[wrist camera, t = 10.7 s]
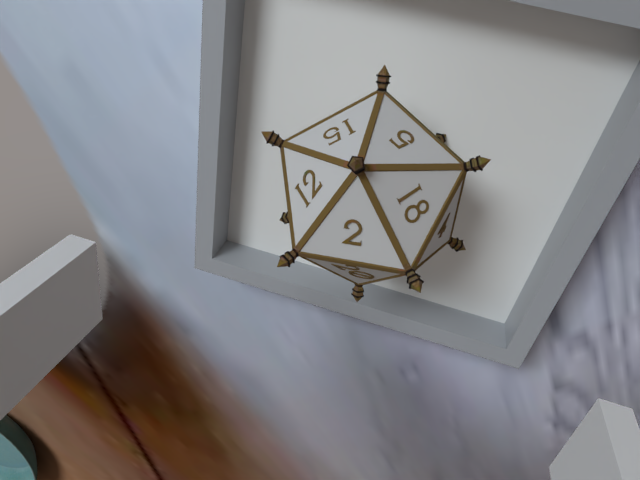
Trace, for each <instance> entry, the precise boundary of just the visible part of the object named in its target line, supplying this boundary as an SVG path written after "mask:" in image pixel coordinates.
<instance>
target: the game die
mask: <svg viewBox="0 0 640 480" xmlns="http://www.w3.org/2000/svg"><path fill="white" fill-rule="evenodd" d="M376 76H377V81H376V83H377V85H378V89H377V90H376V91H374V92H373V93H371V94H369V95H367V96H365V97H363V98H361V99H360V100H358V101H356V102H354V103H352V104H350V105H348V106H347V107H345V108H343V109H341V110H339V111H337V112H335V113H334V114H332V115H330V116H328V117H326V118H324V119H322V120H321V121H319V122H317V123H315V124H313V125H311V126H309V127H308V128H306V129H304V130H302V131H300V132H298V133H296V134H295V135H293V136H291V137H289V138H287V139H285V140H283V139H282V138H281V137H280V136H279V134H278V135H277V134H276V133H274V131H261V132H262V134H263V136H264V138H265V140H266V144H268V143H269V144H271V145H272V146H278V147H279V148H280V152H281V160H282V169H283V177H284V185H285V193H286V202H287V210H288V211H287V213H285V212H283V214H282V216H281V218H280V221H282V222H283V223H284V224H287V223H289V226H290V235H291V243H292V250H291V251H287V252H285V253H284V255H281V256H279V257H280V259H279V262H278V265H277V267H286V266H288V267H290V265H291V264H292V263H295V259H296V258H297V257H301V258H303V259H305V260H307V261H309V262H311V263H313V264H316V265H318V266H320V267H322V268H324V269H326V270H328V271H330V272H332V273H334V274H336V275H338V276H340V277H342V278H344V279H346V280H348V281H350V282H352V283H354V284H355V286H354V288H353V289H352V290H353V293H351V295H352V296H353V297H354V298H355V300H356V302H358V301H359V300H360V299H361V298H362V297H364V295H363V292H364V289H363V287H362V286H363V285H365V284H370V283H374V282H379V281H383V280H388V279H392V278H397V277H401V276H407V284H409V289H413V290H415V291H417V292H419V293H421V289H422V284H423V283H424V281H423V280H421V279H420V277H421V276H420V275H418V274H417V273H415V271H416V270H417V269H418V268H419V267H420V266H422V265H423V264H424V263H425V262H426V261H428V260H429V259H430V258H431V257H432V256H433V255H435V254H436V253H437V252H438V251H439V250H441V249H442V248H443V247H444V246H445V245H447V244H449V246H450V247H451V248H452V249H454V250H455V251H456V252H458V251H461V250H466V249H465V246H464V244H463V240H459V238H453V237H452V233H453V229H454V224H455V220H456V216H457V212H458V207H459V203H460V199H461V195H462V191H463V186H464V182H465V178H466V174H467V172H468V171H474V172H476V171H477V170H481V171H483V168H484V167H485V166H486V165H487V163H488V162H489V161H490V160H491V159H488V158H484V157H480V155H479V156H477V157H476V158H474V157H473V158H471V159H469V161H468V162H464V161H463V160H462V159H461V158H460V157H459V156H458V155H457V154H455V153H454V152H453V151H452V150H451V149H450V148H449V147H448V146H447V145H446V144H444V142H446V140H445V138H446V134H440V133H436V135H435V134H433V133H432V132H431V131H430V130H429V129H428V128H427V127H426V126H425V125H424V124H422V123H421V122H420V121H419V120H418V119H417V118H416V117H415V116H414V115H413V114H411V113H410V112H409V111H408V110H407V109H406V108H405V107H404V106H403V105H402V104H400V103H399V102H398V101H397V100H396V99H395V98H394V97H393V96H392V95H391V94H389V93H388V92H387V86H388V84H390V82H389V79H390V77H391V76H390V75H389V72H388V70H387V68H386V66H385V65H384V66H383V68H382V69H381V71H380V72H379V73H378V74H376Z"/></svg>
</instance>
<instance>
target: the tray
mask: <svg viewBox="0 0 640 480" xmlns="http://www.w3.org/2000/svg"><path fill="white" fill-rule="evenodd" d="M384 65H385V66H386V68H387V70H388V72H389V75H390V76H391V77H390V79H389V82H390V84H388V86H387V92H388V93H389V94H391V95H392V96H393V97H394V98H395V99H396V100H397V101H398V102H399V103H400V104H402V105H403V106H404V107H405V108H406V109H407V110H408V111H409V112H410V113H411V114H413V115H414V116H415V117H416V118H417V119H418V120H419V121H420V122H421V123H422V124H424V125H425V126H426V127H427V128H428V129H429V130H430V131H431V132H432V133H433V134H435V135H436V133H440V134H446V138H445V140H446V142H444V144H446V145H447V146H448V147H449V148H450V149H451V150H452V151H453V152H454V153H455V154H457V155H458V156H459V157H460V158H461V159H462V160H463V161H464V162H468V161H469V159H471V158H473V157H474V158H476V157H477V156H479V155H480V157H484V158H488V159H491V160H490V161H489V162H488V163H487V165H486V166H485V167H484V168H483V171H481V170H477V171H476V172H474V171H468V172H467V174H466V178H465V182H464V186H463V191H462V195H461V199H460V203H459V207H458V212H457V216H456V220H455V224H454V229H453V233H452V237H453V238H459V240H463V244H464V246H465V249H466V250H461V251H458V252H456V251H455V250H454V249H452V248H451V247H450V246H449V244H447V245H445V246H444V247H443V248H442V249H441V250H439V251H438V252H437V253H436V254H435V255H433V256H432V257H431V258H430V259H429V260H428V261H426V262H425V263H424V264H423V265H422V266H420V267H419V268H418V269H417V270H416V271H415V273H417V274H418V275H420V276H421V277H420V279H421V280H423V281H424V283H423V284H422V289H421V293H419V292H417V291H415V290H413V289H409V284H407V276H401V277H397V278H392V279H388V280H383V281H379V282H374V283H370V284H365V285H363V286H362V287H363V289H364V292H363V295H364V297H362V298H361V299H360V300H359V301H358V302H356V300H355V298H354V297H353V296H352V295H351V293H353V290H352V289H353V288H354V286H355V284H354V283H352V282H350V281H348V280H346V279H344V278H342V277H340V276H338V275H336V274H334V273H332V272H330V271H328V270H326V269H324V268H322V267H320V266H318V265H316V264H313V263H311V262H309V261H307V260H305V259H303V258H301V257H297V258H296V259H295V263H292V264H291V265H290V267H288V266H286V267H277V265H278V262H279V259H280V257H279V256H281V255H284V253H285V252H287V251H291V250H292V243H291V235H290V226H289V223H287V224H284V223H283V222H282V221H280V218H281V216H282V214H283V212H285V213H287V211H288V210H287V202H286V193H285V185H284V177H283V169H282V160H281V152H280V148H279V147H278V146H272V145H271V144H269V143H268V144H266V140H265V138H264V136H263V134H262V132H261V131H274V133H276V134H277V135H278V134H279V136H280V137H281V138H282V139H283V140H285V139H287V138H289V137H291V136H293V135H295V134H296V133H298V132H300V131H302V130H304V129H306V128H308V127H309V126H311V125H313V124H315V123H317V122H319V121H321V120H322V119H324V118H326V117H328V116H330V115H332V114H334V113H335V112H337V111H339V110H341V109H343V108H345V107H347V106H348V105H350V104H352V103H354V102H356V101H358V100H360V99H361V98H363V97H365V96H367V95H369V94H371V93H373V92H374V91H376V90H377V89H378V85H377V83H376V81H377V76H376V74H378V73H379V72H380V71H381V69H382V68H383V66H384ZM639 159H640V0H203V11H202V43H201V76H200V108H199V141H198V173H197V206H196V238H195V268H196V269H200V270H203V271H206V272H209V273H212V274H216V275H219V276H222V277H225V278H229V279H232V280H235V281H238V282H241V283H245V284H248V285H251V286H254V287H257V288H261V289H264V290H267V291H270V292H274V293H277V294H280V295H283V296H286V297H290V298H293V299H296V300H299V301H302V302H306V303H309V304H312V305H315V306H318V307H322V308H325V309H328V310H331V311H335V312H338V313H341V314H344V315H347V316H351V317H354V318H357V319H360V320H363V321H367V322H370V323H373V324H376V325H380V326H383V327H386V328H389V329H392V330H396V331H399V332H402V333H405V334H408V335H412V336H415V337H418V338H421V339H425V340H428V341H431V342H434V343H437V344H441V345H444V346H447V347H450V348H453V349H457V350H460V351H463V352H466V353H469V354H473V355H476V356H479V357H482V358H486V359H489V360H492V361H495V362H498V363H502V364H505V365H508V366H511V367H514V368H518V369H519V367H520V366H521V364H522V362H523V360H524V359H525V357H526V355H527V354H528V352H529V350H530V348H531V347H532V345H533V343H534V341H535V340H536V338H537V336H538V334H539V333H540V331H541V329H542V327H543V326H544V324H545V322H546V321H547V319H548V317H549V315H550V314H551V312H552V310H553V308H554V307H555V305H556V303H557V301H558V300H559V298H560V296H561V294H562V293H563V291H564V289H565V288H566V286H567V284H568V282H569V281H570V279H571V277H572V275H573V274H574V272H575V270H576V268H577V267H578V265H579V263H580V261H581V260H582V258H583V256H584V255H585V253H586V251H587V249H588V248H589V246H590V244H591V242H592V241H593V239H594V237H595V235H596V234H597V232H598V230H599V228H600V227H601V225H602V223H603V222H604V220H605V218H606V216H607V215H608V213H609V211H610V209H611V208H612V206H613V204H614V202H615V201H616V199H617V197H618V195H619V194H620V192H621V190H622V188H623V187H624V185H625V183H626V182H627V180H628V178H629V176H630V175H631V173H632V171H633V169H634V168H635V166H636V164H637V162H638V161H639Z"/></svg>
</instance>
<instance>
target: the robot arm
mask: <svg viewBox="0 0 640 480" xmlns="http://www.w3.org/2000/svg"><path fill="white" fill-rule="evenodd" d="M101 320H102V307H101V296H100V284H99V273H98V262H97V250H96V242H94V241H90V240H87V239H84V238H80V237H78V236H74V235H71V234H70V235H69V236H67V237H66V238H64V239H63V240H61V241H60V242H59V243H57V244H56V245H54V246H53V247H52V248H50V249H49V250H47V251H46V252H44V253H43V254H42V255H41V256H39V257H37V258H36V259H34V260H33V261H32V262H30V263H29V264H27V265H26V266H25V267H23V268H22V269H20V270H19V271H17V272H16V273H14V274H13V275H12V276H10V277H9V278H7V279H6V280H5V281H3V282H2V283H0V420H1V419H2V418H3V417H4V416H5V415H6V414H7V413H8V412H9V411H10V410H11V409H12V408H13V407H14V406H15V405H16V404H17V403H18V402H19V401H20V400H21V399H22V398H23V397H24V396H25V395H26V394H27V393H28V392H29V391H30V390H31V389H32V388H33V387H34V386H35V385H36V384H37V383H38V382H39V381H40V380H41V379H42V378H44V377H45V376H46V375H47V374H48V373H49V372H50V371H51V370H52V369H53V368H54V367H55V366H56V365H57V364H58V363H59V362H60V361H61V360H62V359H63V358H64V357H65V356H66V355H67V354H68V353H69V352H70V351H71V350H72V349H73V348H74V347H75V346H76V345H77V344H78V343H79V342H80V341H81V340H82V339H83V338H84V337H85V336H86V335H87V334H88V333H89V332H90V331H91V330H92V329H93V328H94V327H95V326H96V325H97V324H98V323H99V322H100V321H101ZM549 471H550V477H551V480H640V429H639V426H638V423H637V421H636V418H635V415H634V412H633V410H632V408H628V407H625V406H622V405H619V404H615V403H612V402H609V401H606V400H603V399H599V398H598V399H597V401H596V402H595V404H594V405H593V406H592V408H591V409H590V411H589V412H588V413H587V415H586V416H585V417H584V419H583V420H582V422H581V423H580V424H579V426H578V427H577V429H576V430H575V431H574V433H573V434H572V436H571V437H570V438H569V440H568V441H567V443H566V444H565V445H564V447H563V448H562V450H561V451H560V452H559V454H558V455H557V456H556V458H555V459H554V461H553V462H552V463H551V465H550V466H549Z"/></svg>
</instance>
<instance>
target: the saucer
mask: <svg viewBox="0 0 640 480" xmlns="http://www.w3.org/2000/svg"><path fill="white" fill-rule="evenodd" d="M0 480H37V459H36V452H35V449H34V446H33V444H32V442H31V440H30V439H29V437H28V436H27V435H26V433H25V432H24V431H23V430H22V429H21V428H20V427H19V426H18V425H17V424H16V423H15V422H14V421H13V420H12V419H11V418H9V417H8V416H7V415H5V416H4V417H3V418H2V419H1V420H0Z"/></svg>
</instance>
